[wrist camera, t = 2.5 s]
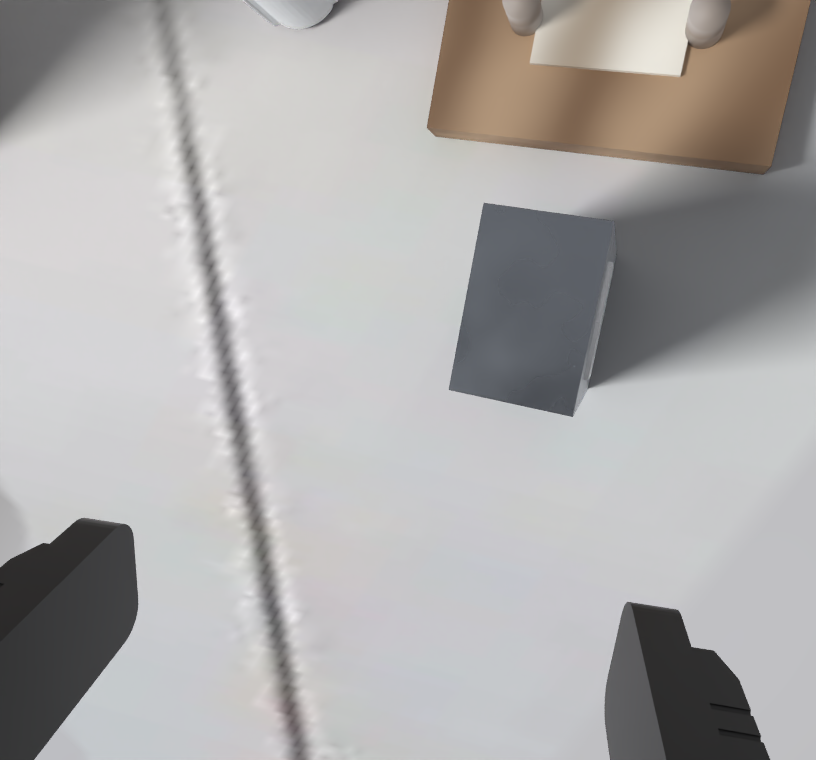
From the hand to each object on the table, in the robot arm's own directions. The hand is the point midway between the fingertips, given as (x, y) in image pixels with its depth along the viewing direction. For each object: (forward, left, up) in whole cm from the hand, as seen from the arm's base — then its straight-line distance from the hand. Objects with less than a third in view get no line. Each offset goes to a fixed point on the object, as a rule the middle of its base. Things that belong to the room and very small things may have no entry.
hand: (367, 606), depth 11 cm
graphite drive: (0, +5, -22) cm, 22 cm away
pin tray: (0, +19, -22) cm, 29 cm away
